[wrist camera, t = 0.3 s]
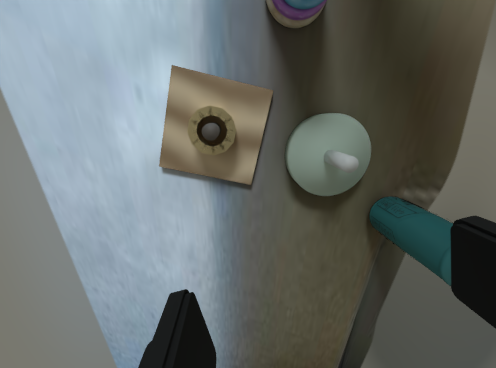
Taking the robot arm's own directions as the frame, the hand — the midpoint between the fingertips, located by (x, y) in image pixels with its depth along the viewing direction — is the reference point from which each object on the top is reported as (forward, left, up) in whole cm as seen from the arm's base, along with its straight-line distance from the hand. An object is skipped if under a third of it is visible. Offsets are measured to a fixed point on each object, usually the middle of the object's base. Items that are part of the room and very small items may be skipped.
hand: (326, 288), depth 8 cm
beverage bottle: (+4, +23, -29) cm, 37 cm away
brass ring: (-3, -7, -28) cm, 29 cm away
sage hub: (-3, +10, -29) cm, 31 cm away
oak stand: (-3, -7, -29) cm, 30 cm away
